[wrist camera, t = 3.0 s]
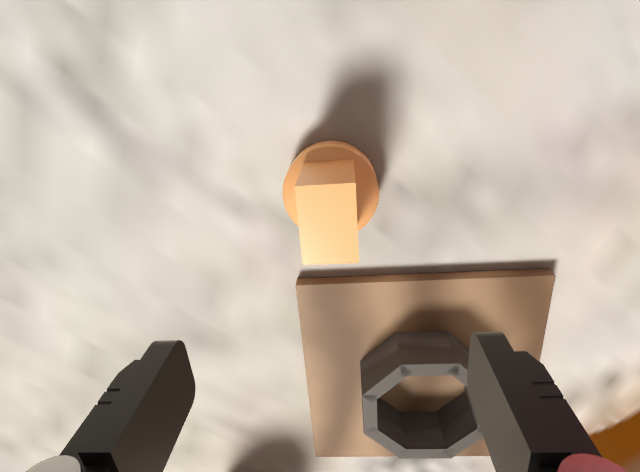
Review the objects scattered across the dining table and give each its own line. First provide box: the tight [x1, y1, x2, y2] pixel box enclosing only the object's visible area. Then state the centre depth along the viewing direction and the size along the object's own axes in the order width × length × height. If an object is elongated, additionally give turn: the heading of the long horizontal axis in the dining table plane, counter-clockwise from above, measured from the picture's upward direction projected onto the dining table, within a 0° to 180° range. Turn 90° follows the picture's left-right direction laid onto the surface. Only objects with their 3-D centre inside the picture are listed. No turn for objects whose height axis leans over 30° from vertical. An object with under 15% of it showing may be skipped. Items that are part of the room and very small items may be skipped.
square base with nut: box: [296, 268, 555, 458], centre depth 31 cm, size 18×18×4 cm
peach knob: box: [283, 140, 379, 265], centre depth 24 cm, size 6×6×7 cm
